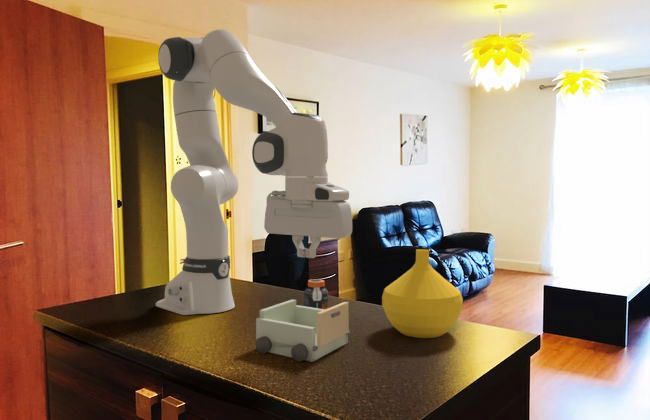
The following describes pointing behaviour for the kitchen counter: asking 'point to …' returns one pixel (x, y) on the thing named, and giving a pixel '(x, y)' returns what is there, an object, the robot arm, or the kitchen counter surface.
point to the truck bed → (292, 332)
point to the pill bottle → (316, 294)
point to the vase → (422, 301)
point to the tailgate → (332, 323)
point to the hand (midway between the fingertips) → (306, 257)
